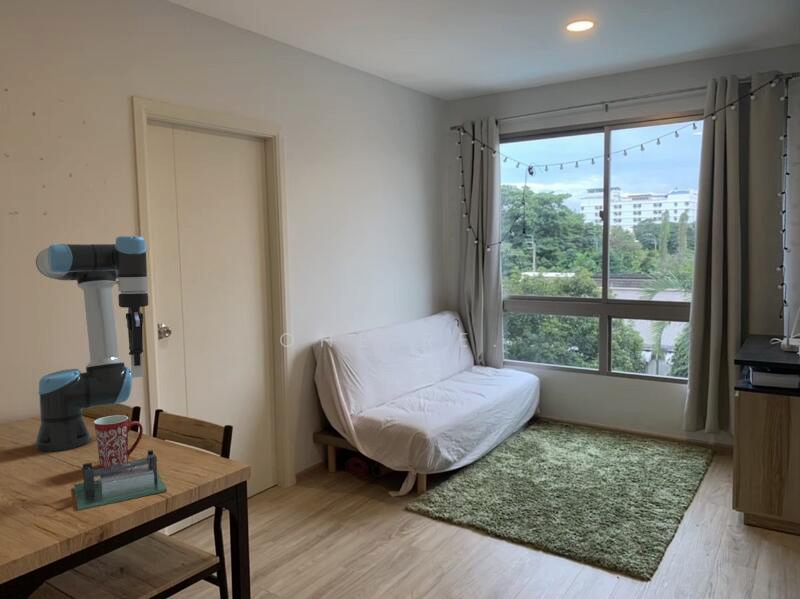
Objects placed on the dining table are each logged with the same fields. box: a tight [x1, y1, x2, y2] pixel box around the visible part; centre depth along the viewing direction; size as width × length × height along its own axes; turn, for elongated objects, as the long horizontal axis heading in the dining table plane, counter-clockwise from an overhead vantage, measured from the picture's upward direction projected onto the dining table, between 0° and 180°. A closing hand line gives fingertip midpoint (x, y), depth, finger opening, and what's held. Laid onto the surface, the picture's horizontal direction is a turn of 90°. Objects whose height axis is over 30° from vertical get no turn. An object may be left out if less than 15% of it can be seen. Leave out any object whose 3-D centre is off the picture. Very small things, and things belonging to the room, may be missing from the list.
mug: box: [93, 414, 144, 469], centre depth 172 cm, size 13×9×14 cm
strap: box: [93, 453, 158, 478], centre depth 153 cm, size 17×3×2 cm, turn 121°
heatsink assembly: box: [73, 449, 168, 511], centre depth 153 cm, size 20×16×8 cm
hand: (137, 376), depth 166 cm, fingers closed
